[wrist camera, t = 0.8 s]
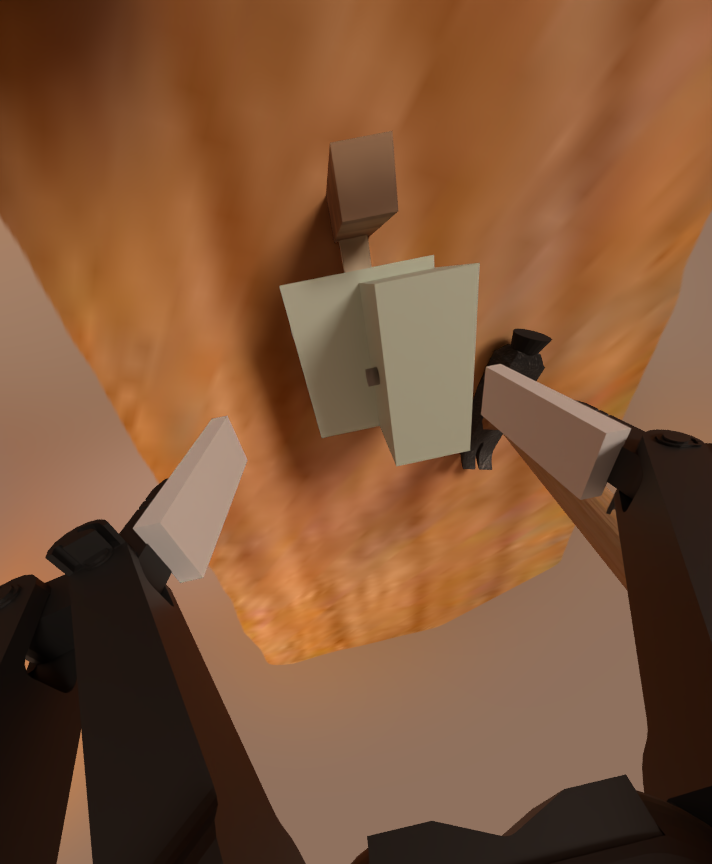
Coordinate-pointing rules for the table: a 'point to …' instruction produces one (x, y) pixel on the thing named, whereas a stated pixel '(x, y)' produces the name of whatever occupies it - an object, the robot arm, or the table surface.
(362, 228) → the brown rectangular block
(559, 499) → the hammer
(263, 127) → the table surface
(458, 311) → the plinth shelf
